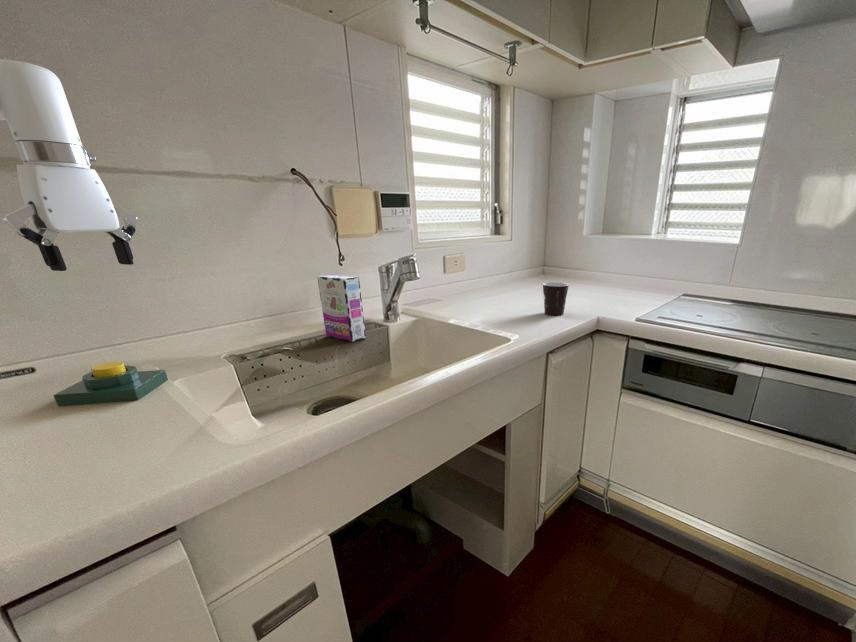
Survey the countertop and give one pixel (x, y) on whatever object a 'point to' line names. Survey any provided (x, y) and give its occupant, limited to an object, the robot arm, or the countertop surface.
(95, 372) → the button
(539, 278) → the countertop surface
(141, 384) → the control box
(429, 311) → the countertop surface
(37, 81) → the robot arm
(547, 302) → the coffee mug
